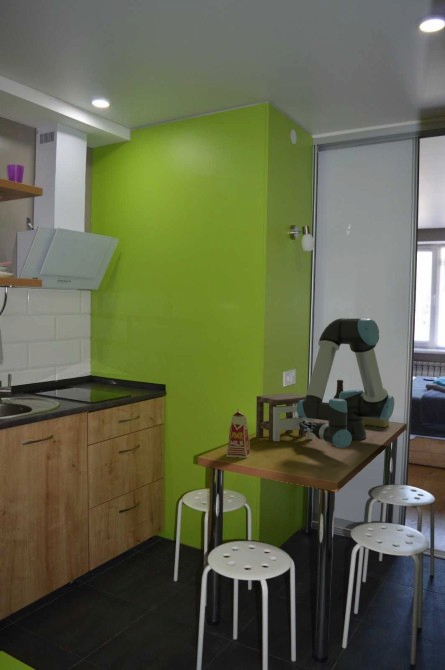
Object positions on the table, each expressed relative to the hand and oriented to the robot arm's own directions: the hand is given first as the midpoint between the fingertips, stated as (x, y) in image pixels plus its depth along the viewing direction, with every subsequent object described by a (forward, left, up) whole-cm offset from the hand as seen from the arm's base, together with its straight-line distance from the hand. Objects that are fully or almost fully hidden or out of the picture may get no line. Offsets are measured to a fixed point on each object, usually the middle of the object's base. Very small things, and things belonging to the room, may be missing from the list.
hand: (299, 422), depth 253 cm
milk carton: (-5, +41, -9) cm, 42 cm away
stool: (+11, +1, -9) cm, 14 cm away
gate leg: (+2, +2, -8) cm, 9 cm away
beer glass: (+38, -32, -9) cm, 51 cm away
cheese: (+9, -60, -9) cm, 61 cm away
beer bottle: (+23, -52, -9) cm, 58 cm away
